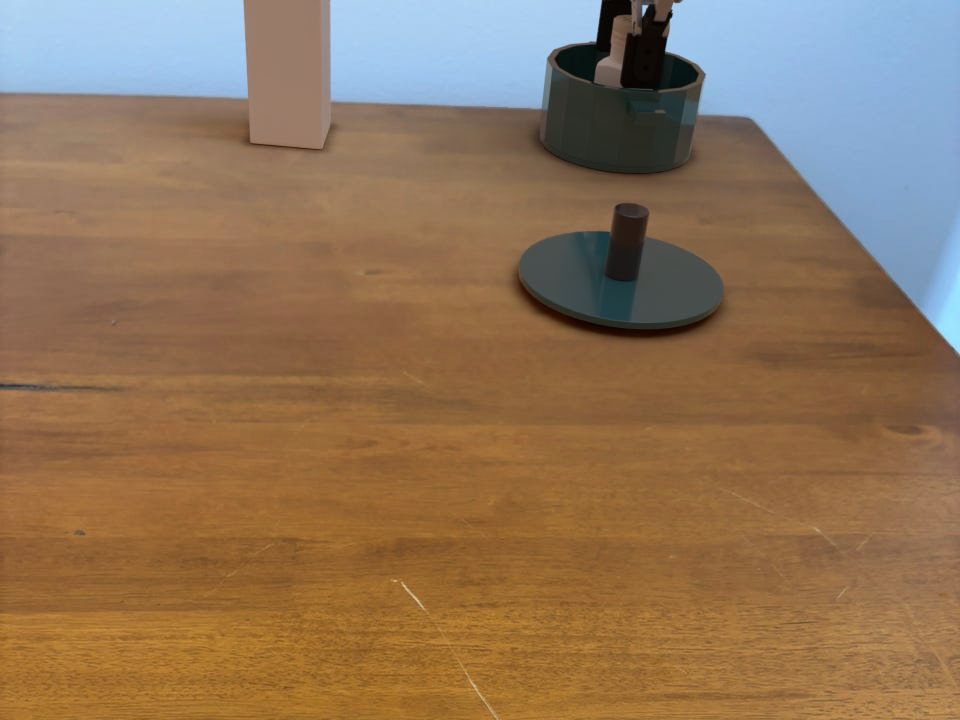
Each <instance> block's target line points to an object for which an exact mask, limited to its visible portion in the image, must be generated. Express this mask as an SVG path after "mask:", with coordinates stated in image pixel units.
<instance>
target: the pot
mask: <svg viewBox="0 0 960 720" xmlns="http://www.w3.org/2000/svg"><path fill="white" fill-rule="evenodd" d="M609 56H610V52H599V51H598V50H597V48H596V40H595V41H593V40H591V41H588V42H579V43H569V44H566V45H562V46H560V47H557V48H555V49H553V50H552V51H551V52H550V53H549V55H548V56H547V57H546V63H545V73H544V83H543V93H542V102H541V109H540V120H539V127H538V131H539V133H540V134H539V140H540V143H541V144H542V146H543V147H544V148H545V149H546V150H547V151H549V152H550V153H551V154H553V155H554V156H556V157H558V158H560V159H562V160H565V161H567V162H568V163H569V162H570V163H571V164H575V165H578V166H581V167H586V168H589V169H592V170H599V171H603V172H611V173H619V174H653V173H661V172H667V171H670V170H674V169H676V168H678V167H681V166H683V165H684V164H685V163H687V162H688V160H689V158H690V156H691V150H692V148H693V144H694V139H695V135H696V129H697V123H698V119H699V114H700V108H701V103H702V99H703V93H704V88H705V83H706V82H705V81H706V77H707V73H705V71H704V70H703V69H702V68H701V66H700V65H699V64H698V63H696V62H694V61H692V60H690V59H688V58H686V57H683V56H681V55H679V54H677V53H674V52H669V51H666V50H665V56H664V62H663V68H662V73H661V79H660V85H659V87H658V88H657V89H654V90H640V89H625V88H619V87H613V86H607V85H601V84H597V83H594V79H595V72H596V66H597V64H598V62H599V61H601V60H602V59H604V58H606V57H609Z"/></svg>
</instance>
